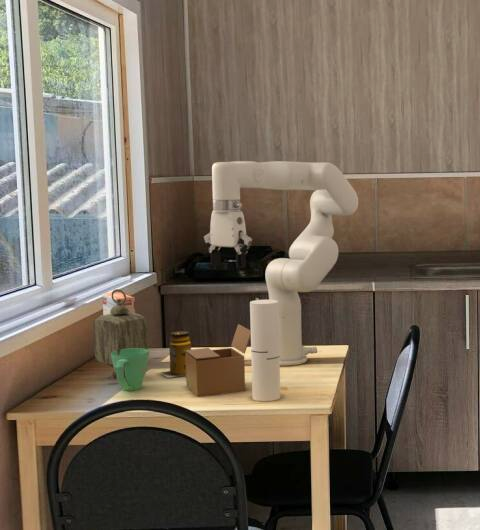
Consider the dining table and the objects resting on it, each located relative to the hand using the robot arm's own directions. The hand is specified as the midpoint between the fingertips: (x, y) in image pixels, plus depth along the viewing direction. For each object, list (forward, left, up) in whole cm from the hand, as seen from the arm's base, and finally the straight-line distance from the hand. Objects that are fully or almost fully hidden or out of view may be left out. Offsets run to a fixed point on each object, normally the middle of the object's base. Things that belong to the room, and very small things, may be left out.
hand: (228, 267), depth 250 cm
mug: (+29, +4, -31) cm, 43 cm away
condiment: (+13, -9, -31) cm, 35 cm away
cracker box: (+25, -32, -31) cm, 51 cm away
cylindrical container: (-1, +28, -31) cm, 42 cm away
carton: (+8, +13, -31) cm, 35 cm away
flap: (+1, +13, -18) cm, 22 cm away
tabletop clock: (+28, -14, -31) cm, 44 cm away
